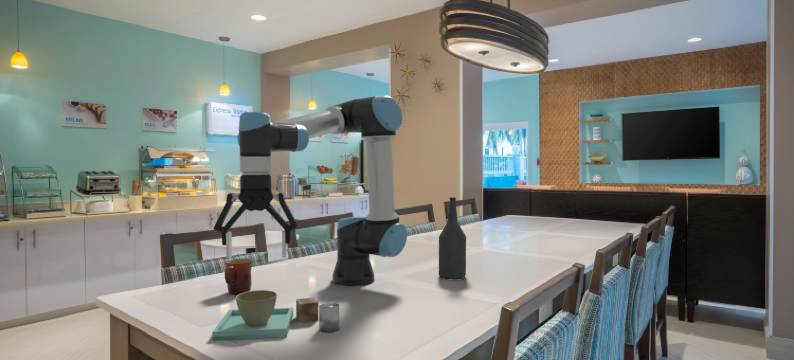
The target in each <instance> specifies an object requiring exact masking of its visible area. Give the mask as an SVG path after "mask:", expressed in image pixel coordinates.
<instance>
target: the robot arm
mask: <svg viewBox="0 0 794 360" xmlns="http://www.w3.org/2000/svg"><path fill="white" fill-rule="evenodd" d="M238 122H239V123H238V134H237V144H238V145H239V172H240V173H241V175H240V176H239V188H240V189H239V193H237V194H236V193H233V192H230V193H228V194H227V195H226V201H225V204H224V206H223V208H222V209H221V212H220V214H219V215H218V218H217V220H216V221H215V225H214V226H213V230H214V231H217V232H219V233H220V234H221V245H222V246H225V248H226V249H225V252H226V253H225V254H226V255H225V256H226V260H231V258H233V248H232V247H233V243H232V242H233V234H232V231H230V229H231V228H232V227H233V226H234V224H235V223H236V222H237V221H238V219H239V218H240V217H241V216H242V215H243V214H244V212H246V210H247V211H250V212H254V211H258V212H261V211H264V210H265V211H267V212H268V213H269V214H270V215H271V217H273V219H274V220H275V221H276V222H277V223H278V224H279V225H280V227H282V228H283V230H282V231H281V250H282V251H281V255H282V258H286V257H287V244H289V245H290V243H291V238H292V237H291V231H292V230H294V229H297V228H298V223H297V221H296V219H295V217H294V215H293V213H292V212H291V211H292V210H291V209H290V208H289V206H288V203H287V202H286V199H285V198H286V197H285V193H284V192H282V191H281V192H278V193H273V192H272V175H271V174H270V173H271V172H272V159H271V158H272V157H271V156H272V152H274V153H275V152H291V153H296V152H302V151H304V150H306V149H307V147H308V145H309V142H310V139H312V138H317V137H319V136H320V137H321V136H325V135H328V134H332V135H339V134H347V133H348V134H349V133H354V134H355V133H360V136H361V139H362V140H363V141H364V142H365V144H366V145H365V148H366V167H367V187H368V207H369V210H368V213H367V215H363V216H352V217H345V218H340V219H338V221H337V227H336V228H337V229H336V243H337V244H336V245H337V247H336V249H337V253H336V254H337V259H336V262H335V265H334V268H333V271H332V272H333V273H332V278H331V279H332V282H333V284H334V283H335V284H338V285H343V286H360V285H361V286H363V285H367V284H371V283H373V282H374V281H375V272H374V269H373V266H372V263H371V260H370V258H371V257H370V255H372V256H379V257H382V258H386V257H387V258H394V257H397V256H398V255H400V254H401V253H402V252H403V250H404V248H405V246H406V244H407V241H408V230H407V228H406V226H405V225H404V224H403V223H401V222H400V215H399V214H398V213H397V212H396V211H395V193H394V192H395V191H394V170H393V169H394V167H393V166H394V165H393V164H394V163H393V145H392V143H393V140H394V139H395V138H396V137H397V135H396V131H397V130H399V129H400V127H401V124H403V123H402V122H403V113H402V109H401V106H400V104H399V103H398V101H397V100H396V99H395V98H393V97H392V96H389V95H376V96H369V97H362V98H353V99H351V100H348V101H345V102H342V103H339V104H336V105H332V106H327V108H325V110H321V111H319V112H314V113H310V114H309V113H308V114H304V115H300V116H299V115H298V116H295V117H291V118H290V117H289V118H286V119H282V120H277V121H272V119H271V116H270V114H269V113H267V112H262V111H246V112H242V113H241V114H240V115H239V121H238ZM237 199H238V200H239V201H240V203H241V204H242V205H240V207H239V208H238V209H237V210H236V212H235V213H234V214H233V215H232V216H231V218H230V219H229V220H228V221H227V222H226V223H225V225H224V226H223V224H224V222H225V221H226V218H227V216H228V214H229V212H230V210H231V208H232V206H233V204H234V203H235V202H237ZM273 199H275V201H276V202H279V206H280V207H281V210H282V211H283V212H284V214H285V217H286V218H287V221H288V222H289V223H288V222H287V221H286V220H285V219H284V217H282V216H281V215H280V214H279V212H278V211H277V210H276V209H275V208H274V206H273V205H272V204H271V202H272V201H273Z"/></svg>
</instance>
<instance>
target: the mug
mask: <svg viewBox="0 0 794 360" xmlns="http://www.w3.org/2000/svg"><path fill="white" fill-rule="evenodd" d="M253 264H254V259H252V258H246V257H245V258H232V259H231V258H230V259H226V260H225V266H226V268H225V270H224V280H225V281H224V282H225V284H227V287H226V288H227V291H228V293H229V294H231V295H235V296H237V295H239V294H241V293H244V292H249V291H252V286H253V285H252V267H253Z"/></svg>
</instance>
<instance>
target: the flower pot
mask: <svg viewBox="0 0 794 360" xmlns="http://www.w3.org/2000/svg"><path fill="white" fill-rule="evenodd" d="M277 296H278V293H277V292H276V291H273V290H267V289H266V290H265V289H257V290H250V291H249V292H244V293H241V294H239V295H235V301H236V306H237V307H236V308H237V309H238V310H239V312H240V315H241V316H242V318H243V320H244V321H245V323H246V324H247V325H248V326H261V325H264V324H266V323H267V322H268V320H269V318H270V316H271V314H272V312H273V310H274V308H276V307H275V306H276V302H277Z"/></svg>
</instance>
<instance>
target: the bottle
mask: <svg viewBox="0 0 794 360" xmlns="http://www.w3.org/2000/svg"><path fill="white" fill-rule="evenodd" d="M456 200H457V197H453V196H452V197H449V207H448V218H447V223H446V224H445V226H444V228H443V229H442V231H441V233H440V234H439V236H438V276H439V278H441V279H443V278H445V279H444V280H447V279H461V280H463V279H462V278H464V279H465V277H466V276H467V235H466V234H465V232H464V230H463V228H462V227H461V225H460V223H459V222H458V213H457V212H458V211H457V202H456Z"/></svg>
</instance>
